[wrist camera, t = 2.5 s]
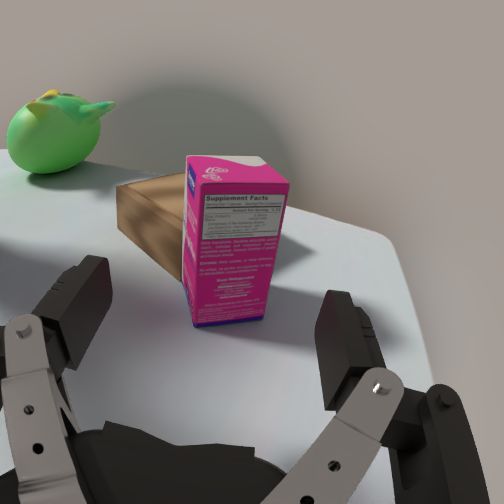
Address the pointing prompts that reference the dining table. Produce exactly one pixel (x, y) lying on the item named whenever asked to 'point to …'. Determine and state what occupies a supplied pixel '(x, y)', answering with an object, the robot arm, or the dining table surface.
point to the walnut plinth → (154, 218)
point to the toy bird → (55, 132)
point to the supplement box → (230, 236)
